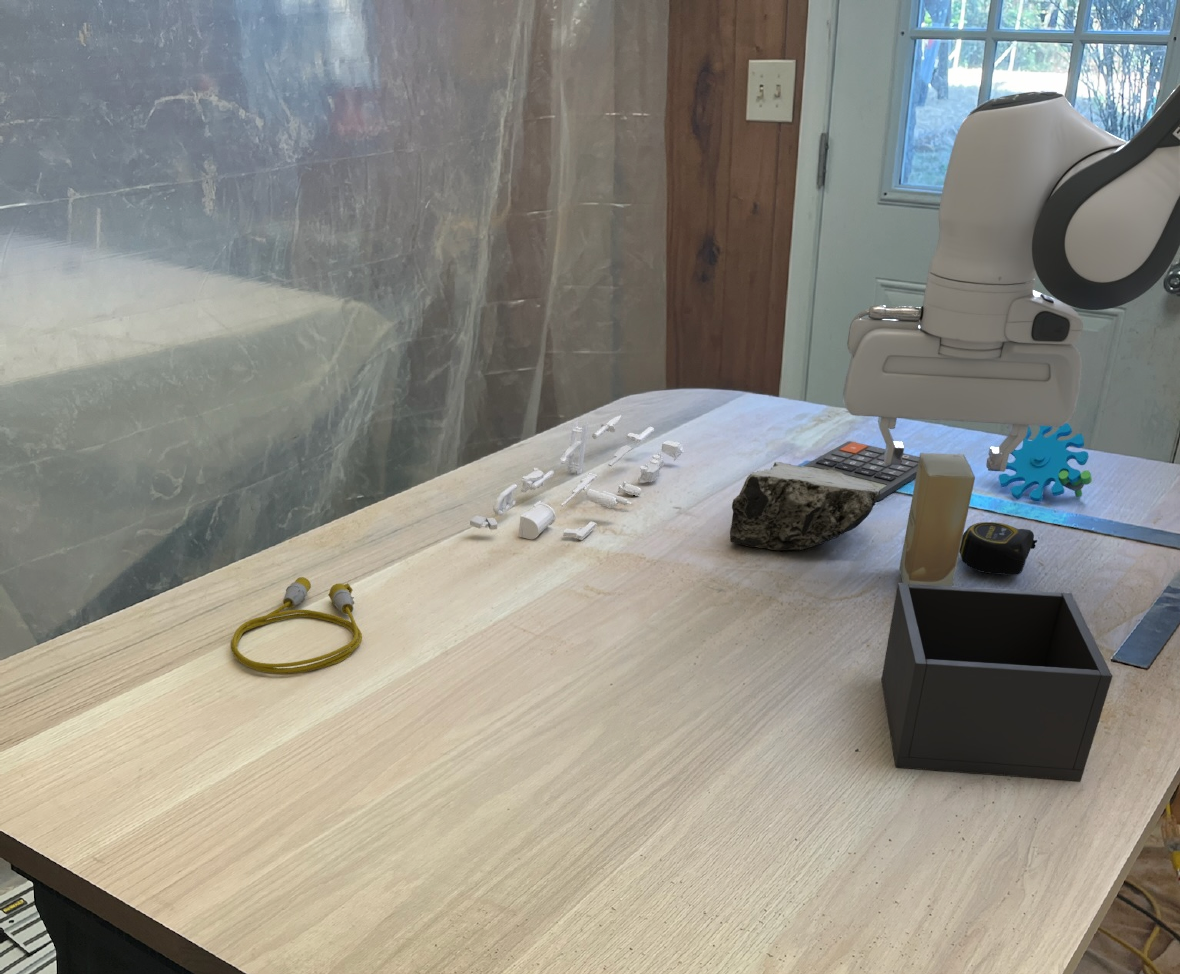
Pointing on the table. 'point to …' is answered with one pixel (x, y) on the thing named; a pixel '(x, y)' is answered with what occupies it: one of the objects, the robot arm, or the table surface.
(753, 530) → the concrete fragment
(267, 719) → the table surface
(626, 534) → the table surface
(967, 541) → the tape measure
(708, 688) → the table surface
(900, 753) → the open box
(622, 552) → the table surface
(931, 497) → the cosmetic box
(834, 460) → the calculator
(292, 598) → the extension cord
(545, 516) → the miniature set
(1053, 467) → the gear
